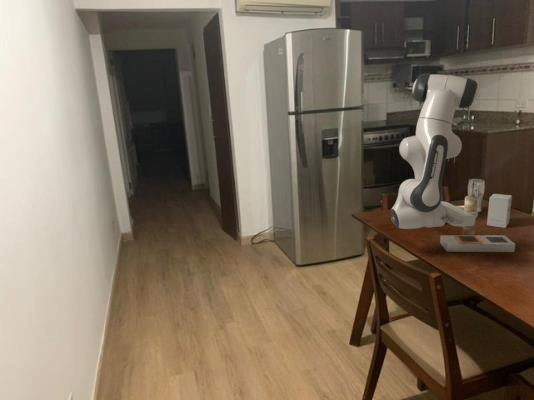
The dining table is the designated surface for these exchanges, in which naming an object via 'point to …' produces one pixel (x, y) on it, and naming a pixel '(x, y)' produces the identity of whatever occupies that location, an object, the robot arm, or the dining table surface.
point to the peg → (468, 207)
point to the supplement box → (499, 210)
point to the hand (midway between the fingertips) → (472, 211)
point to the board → (477, 243)
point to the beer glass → (476, 191)
